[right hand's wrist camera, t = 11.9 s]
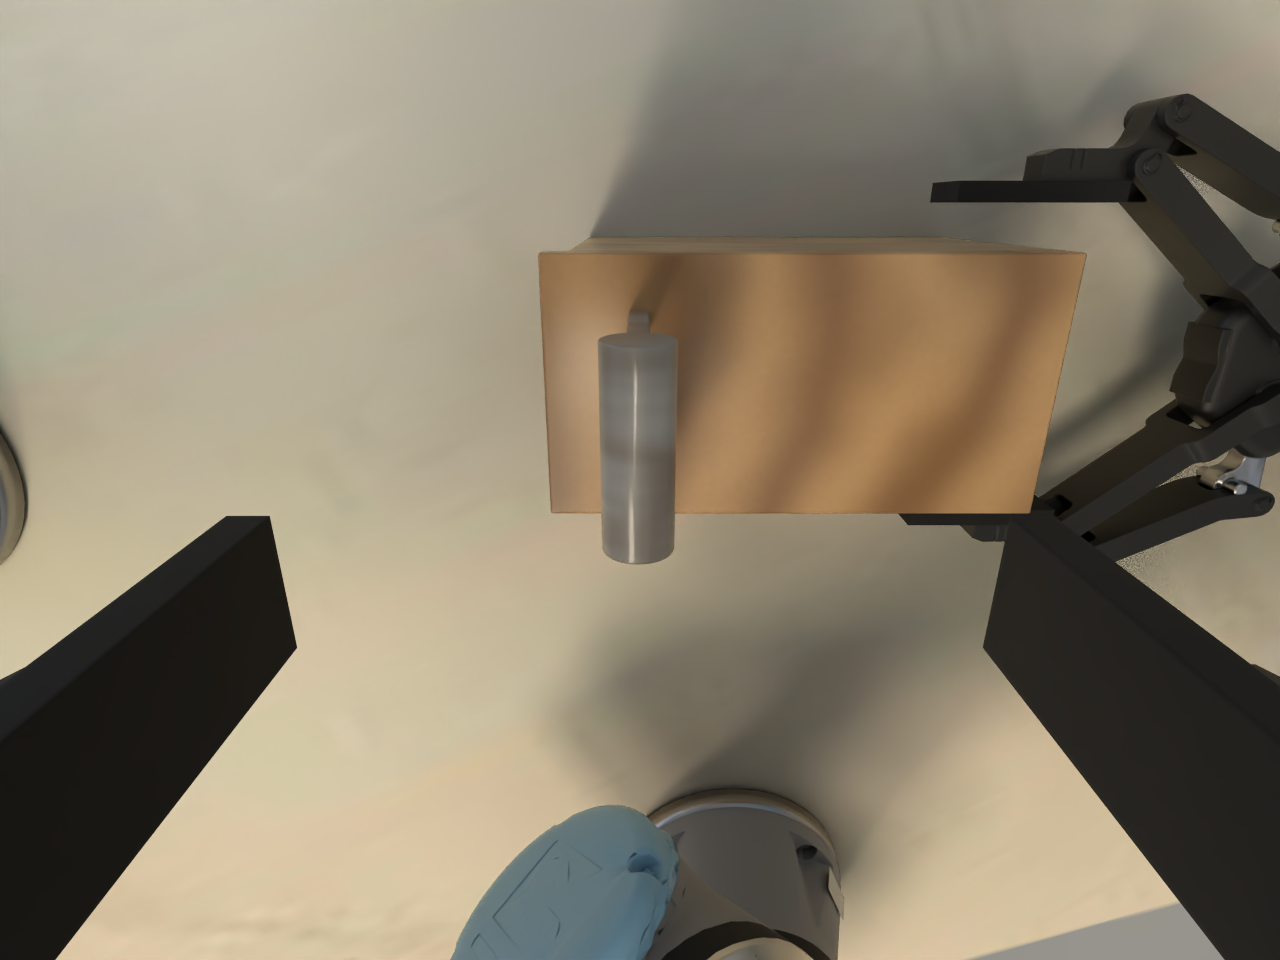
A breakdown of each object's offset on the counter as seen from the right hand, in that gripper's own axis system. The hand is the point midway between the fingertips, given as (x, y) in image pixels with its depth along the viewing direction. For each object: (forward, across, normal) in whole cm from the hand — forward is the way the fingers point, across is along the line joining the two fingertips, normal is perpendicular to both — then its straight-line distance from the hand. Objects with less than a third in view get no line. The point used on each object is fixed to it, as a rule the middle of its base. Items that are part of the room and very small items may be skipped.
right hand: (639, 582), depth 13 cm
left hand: (+19, -12, 0) cm, 23 cm away
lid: (+15, -6, 0) cm, 16 cm away
